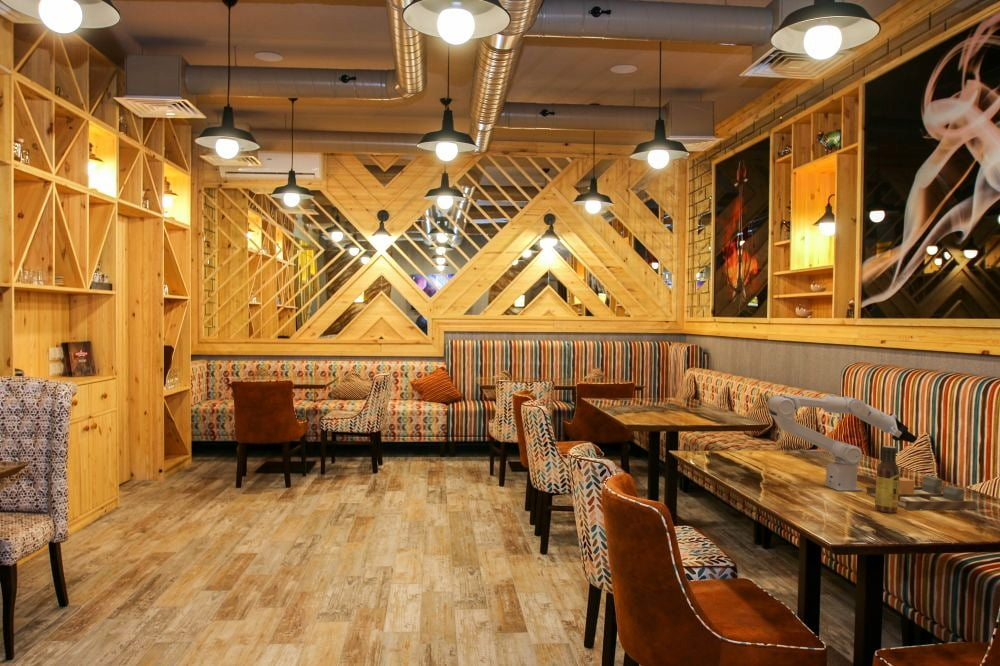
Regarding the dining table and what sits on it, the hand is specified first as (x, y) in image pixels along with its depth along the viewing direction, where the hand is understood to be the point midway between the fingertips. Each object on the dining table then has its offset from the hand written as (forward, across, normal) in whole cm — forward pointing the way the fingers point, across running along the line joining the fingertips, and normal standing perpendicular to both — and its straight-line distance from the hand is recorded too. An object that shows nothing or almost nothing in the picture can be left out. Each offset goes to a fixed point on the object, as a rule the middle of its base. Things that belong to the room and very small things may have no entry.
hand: (910, 435), depth 248 cm
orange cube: (0, -17, +15) cm, 22 cm away
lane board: (+3, -21, +14) cm, 25 cm away
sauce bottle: (-13, -36, +17) cm, 42 cm away
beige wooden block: (+4, -16, +15) cm, 22 cm away
